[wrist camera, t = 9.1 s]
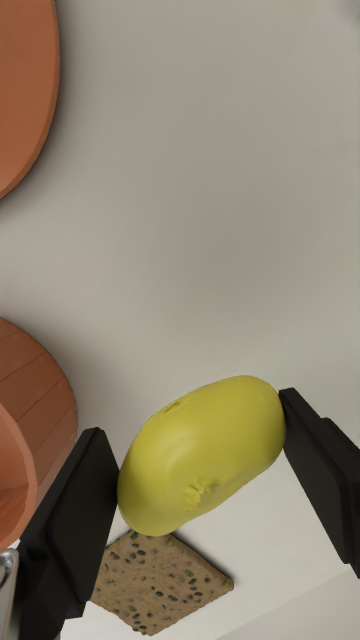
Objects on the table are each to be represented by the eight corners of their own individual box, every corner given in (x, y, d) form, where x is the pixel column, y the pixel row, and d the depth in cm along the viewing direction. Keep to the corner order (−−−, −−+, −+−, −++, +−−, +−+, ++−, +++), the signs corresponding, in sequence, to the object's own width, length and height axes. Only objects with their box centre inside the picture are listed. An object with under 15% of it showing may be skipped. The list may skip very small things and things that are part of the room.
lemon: (287, 403, 10) (348, 485, 6) (156, 487, 12) (143, 595, 8) (234, 336, 10) (268, 384, 6) (100, 434, 11) (56, 526, 7)
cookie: (151, 631, 24) (150, 646, 23) (66, 575, 22) (61, 588, 21) (236, 581, 22) (238, 595, 21) (150, 514, 20) (148, 526, 19)
